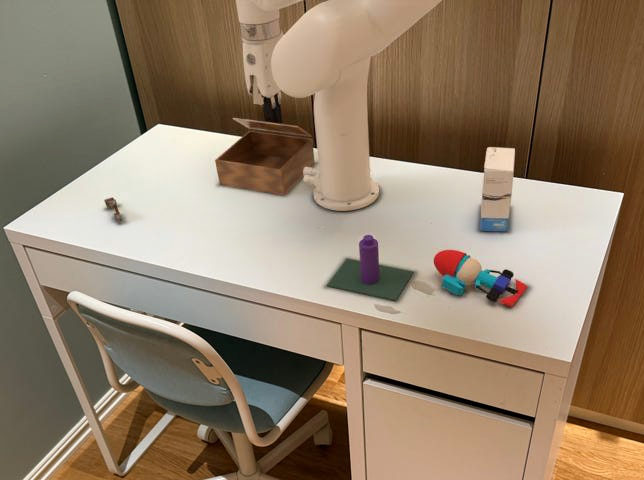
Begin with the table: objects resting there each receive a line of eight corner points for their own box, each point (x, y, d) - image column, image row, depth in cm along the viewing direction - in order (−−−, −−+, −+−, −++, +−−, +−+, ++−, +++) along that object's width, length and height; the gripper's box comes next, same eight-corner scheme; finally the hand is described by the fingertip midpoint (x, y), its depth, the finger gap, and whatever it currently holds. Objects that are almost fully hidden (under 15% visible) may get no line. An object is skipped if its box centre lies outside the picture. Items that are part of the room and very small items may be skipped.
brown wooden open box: (219, 184, 144) (214, 160, 140) (253, 154, 153) (249, 130, 149) (284, 195, 139) (280, 170, 135) (315, 163, 148) (312, 139, 144)
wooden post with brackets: (116, 223, 134) (108, 199, 132) (111, 221, 141) (103, 198, 139) (126, 220, 134) (117, 196, 133) (120, 218, 142) (112, 196, 140)
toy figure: (526, 291, 113) (442, 255, 118) (534, 269, 109) (446, 232, 114) (507, 321, 109) (421, 282, 114) (514, 299, 105) (424, 260, 110)
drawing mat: (327, 286, 116) (326, 284, 116) (346, 259, 121) (346, 258, 121) (396, 301, 112) (395, 299, 111) (413, 273, 117) (413, 271, 117)
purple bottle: (358, 282, 115) (355, 240, 110) (365, 272, 117) (363, 230, 112) (375, 286, 114) (373, 244, 109) (382, 275, 116) (380, 233, 111)
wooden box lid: (232, 119, 143) (232, 117, 143) (248, 128, 149) (249, 127, 149) (297, 127, 137) (298, 125, 137) (311, 137, 144) (311, 135, 144)
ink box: (508, 232, 123) (514, 170, 115) (479, 231, 124) (483, 169, 116) (509, 207, 129) (515, 146, 122) (481, 206, 130) (485, 145, 123)
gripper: (258, 44, 125) (272, 142, 137) (297, 17, 134) (307, 111, 147) (222, 41, 128) (239, 138, 140) (263, 14, 137) (275, 107, 149)
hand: (274, 124), depth 143 cm, fingers closed
